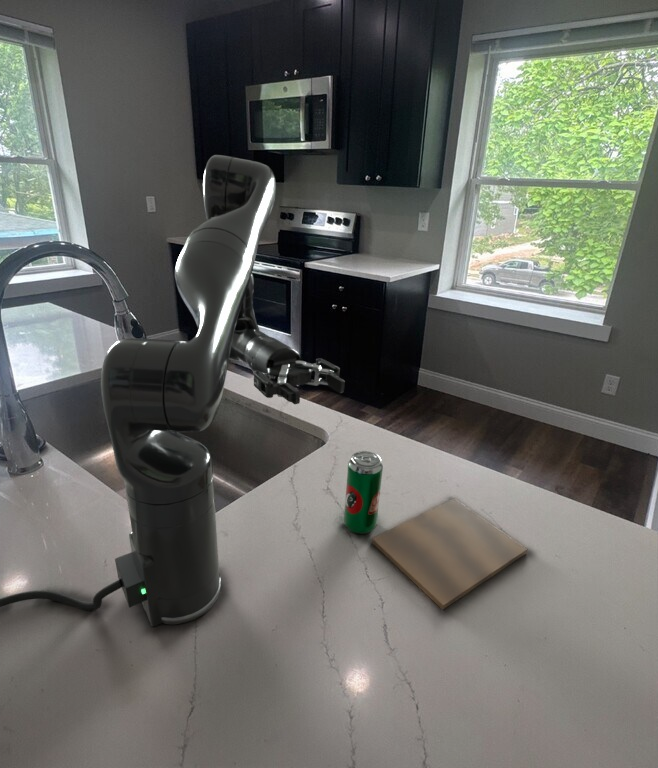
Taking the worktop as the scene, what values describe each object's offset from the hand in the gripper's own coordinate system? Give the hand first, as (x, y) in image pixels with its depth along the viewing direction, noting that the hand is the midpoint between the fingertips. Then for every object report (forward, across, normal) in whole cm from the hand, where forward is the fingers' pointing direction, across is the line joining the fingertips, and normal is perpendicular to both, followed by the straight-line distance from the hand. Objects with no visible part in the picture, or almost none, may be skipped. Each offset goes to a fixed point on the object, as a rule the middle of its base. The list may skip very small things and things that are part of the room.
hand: (321, 392), depth 74 cm
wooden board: (+23, +8, +18) cm, 30 cm away
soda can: (+12, 0, +18) cm, 22 cm away
